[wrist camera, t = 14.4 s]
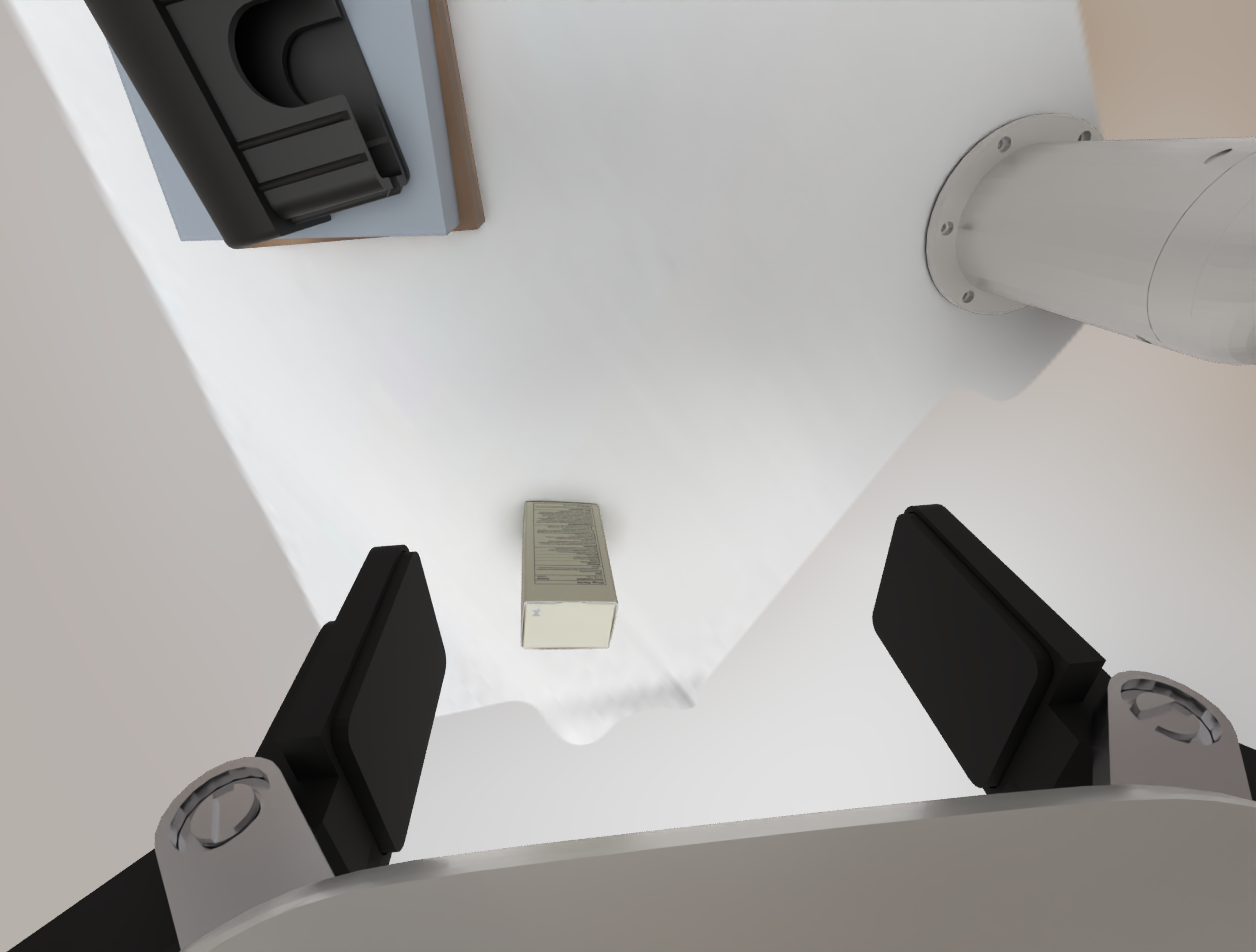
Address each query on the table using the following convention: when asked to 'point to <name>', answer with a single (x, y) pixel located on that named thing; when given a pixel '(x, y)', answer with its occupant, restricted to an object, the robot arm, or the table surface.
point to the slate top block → (412, 97)
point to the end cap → (260, 107)
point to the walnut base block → (456, 131)
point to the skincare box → (565, 578)
